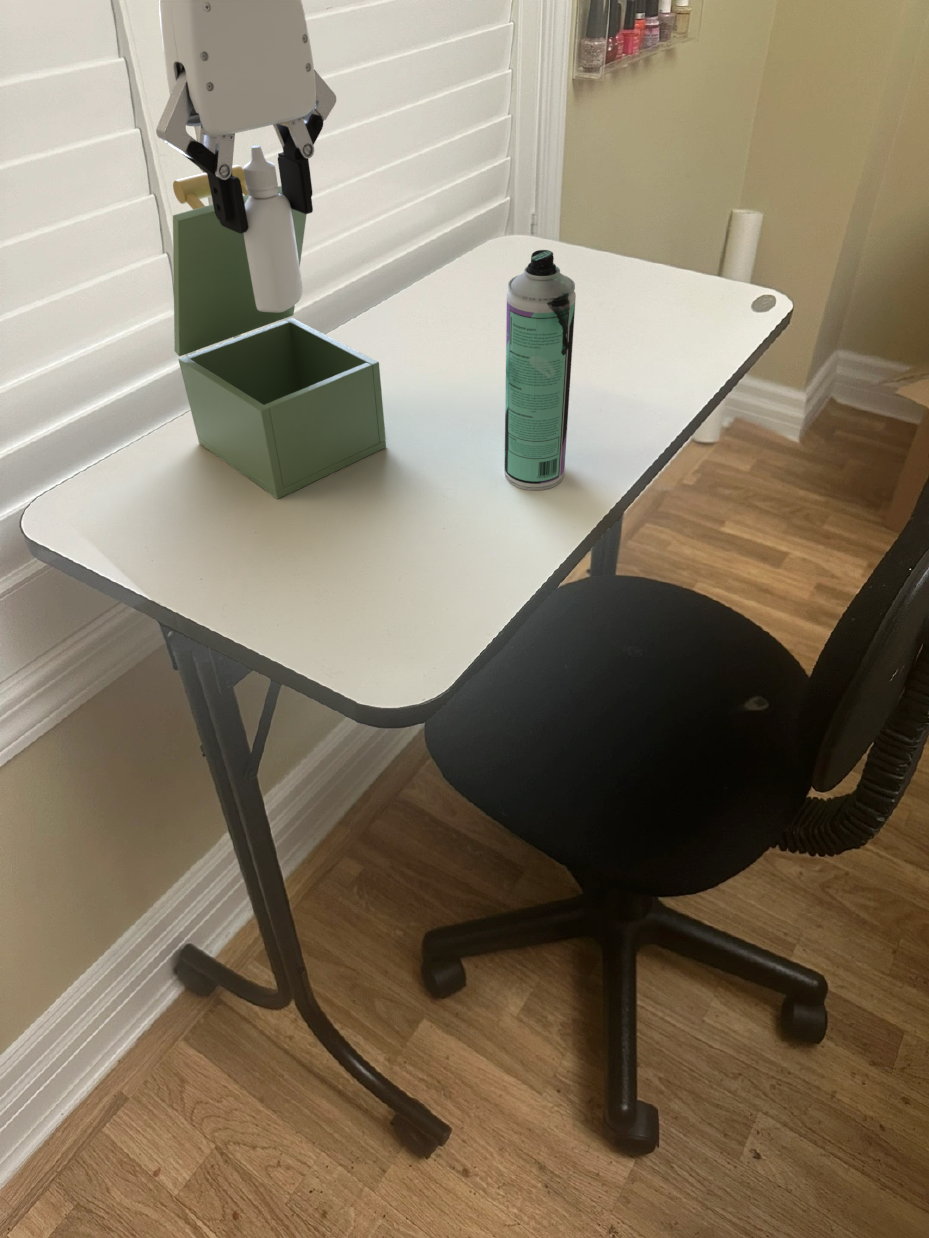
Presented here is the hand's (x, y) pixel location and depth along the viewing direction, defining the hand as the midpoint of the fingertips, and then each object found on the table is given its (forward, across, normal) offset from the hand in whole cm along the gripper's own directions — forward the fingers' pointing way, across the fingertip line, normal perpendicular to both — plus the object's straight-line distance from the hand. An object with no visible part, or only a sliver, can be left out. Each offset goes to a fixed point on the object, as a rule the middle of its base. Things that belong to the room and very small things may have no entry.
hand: (266, 216), depth 72 cm
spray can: (+22, -13, +18) cm, 31 cm away
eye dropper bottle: (+7, 0, 0) cm, 7 cm away
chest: (+22, 0, -2) cm, 22 cm away
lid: (+6, 0, -6) cm, 8 cm away
